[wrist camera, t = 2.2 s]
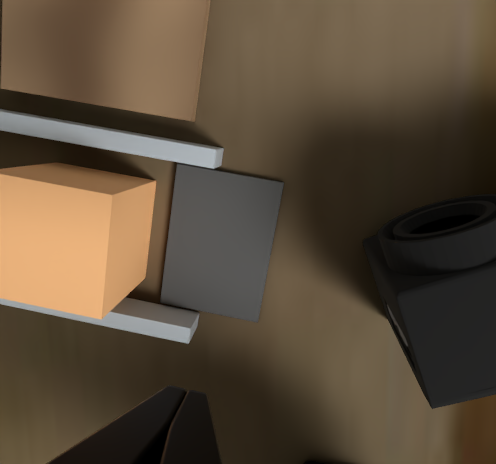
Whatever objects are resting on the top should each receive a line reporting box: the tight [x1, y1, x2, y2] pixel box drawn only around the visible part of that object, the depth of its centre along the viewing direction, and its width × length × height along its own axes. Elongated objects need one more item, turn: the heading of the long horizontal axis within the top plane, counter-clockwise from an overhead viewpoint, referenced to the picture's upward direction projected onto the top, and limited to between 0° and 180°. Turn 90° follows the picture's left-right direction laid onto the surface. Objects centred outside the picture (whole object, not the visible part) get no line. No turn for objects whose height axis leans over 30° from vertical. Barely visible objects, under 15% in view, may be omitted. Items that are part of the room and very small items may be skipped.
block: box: [0, 162, 156, 320], centre depth 18 cm, size 5×5×5 cm
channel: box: [0, 109, 224, 344], centre depth 20 cm, size 14×9×2 cm, turn 81°
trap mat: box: [160, 164, 284, 323], centre depth 20 cm, size 5×7×1 cm
